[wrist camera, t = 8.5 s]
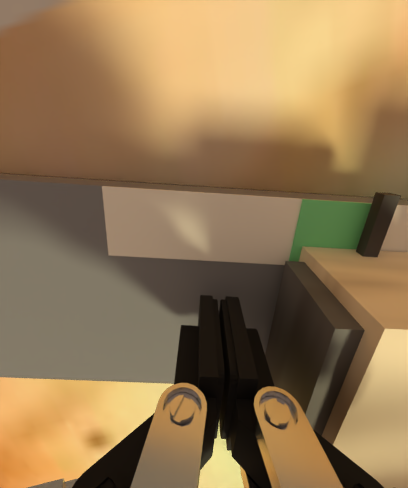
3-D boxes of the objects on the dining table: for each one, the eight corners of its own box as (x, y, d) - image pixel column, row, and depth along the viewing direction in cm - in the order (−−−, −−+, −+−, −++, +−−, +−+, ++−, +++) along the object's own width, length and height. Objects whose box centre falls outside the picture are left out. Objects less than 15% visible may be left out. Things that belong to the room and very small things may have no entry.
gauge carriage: (363, 368, 13) (452, 490, 8) (259, 364, 13) (291, 486, 8) (439, 195, 9) (668, 243, 5) (296, 186, 9) (390, 226, 5)
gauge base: (450, 372, 16) (477, 397, 14) (15, 355, 15) (-7, 379, 13) (555, 209, 11) (609, 218, 10) (-44, 170, 11) (-86, 174, 9)
